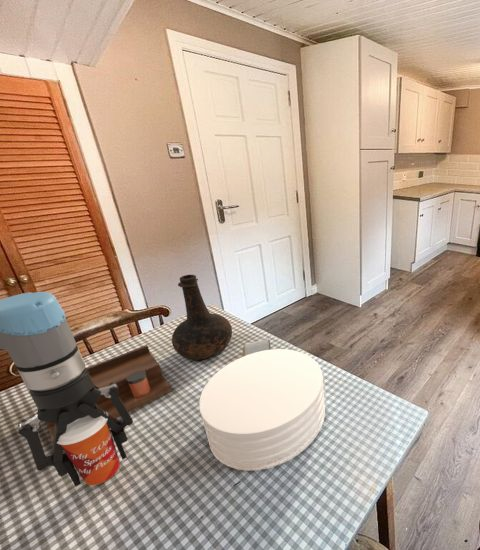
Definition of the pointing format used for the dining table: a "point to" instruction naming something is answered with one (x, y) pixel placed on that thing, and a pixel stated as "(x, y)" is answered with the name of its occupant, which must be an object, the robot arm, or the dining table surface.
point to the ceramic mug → (256, 347)
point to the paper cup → (91, 449)
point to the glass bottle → (199, 326)
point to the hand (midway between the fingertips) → (100, 466)
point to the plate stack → (263, 408)
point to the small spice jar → (138, 383)
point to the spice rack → (118, 372)
